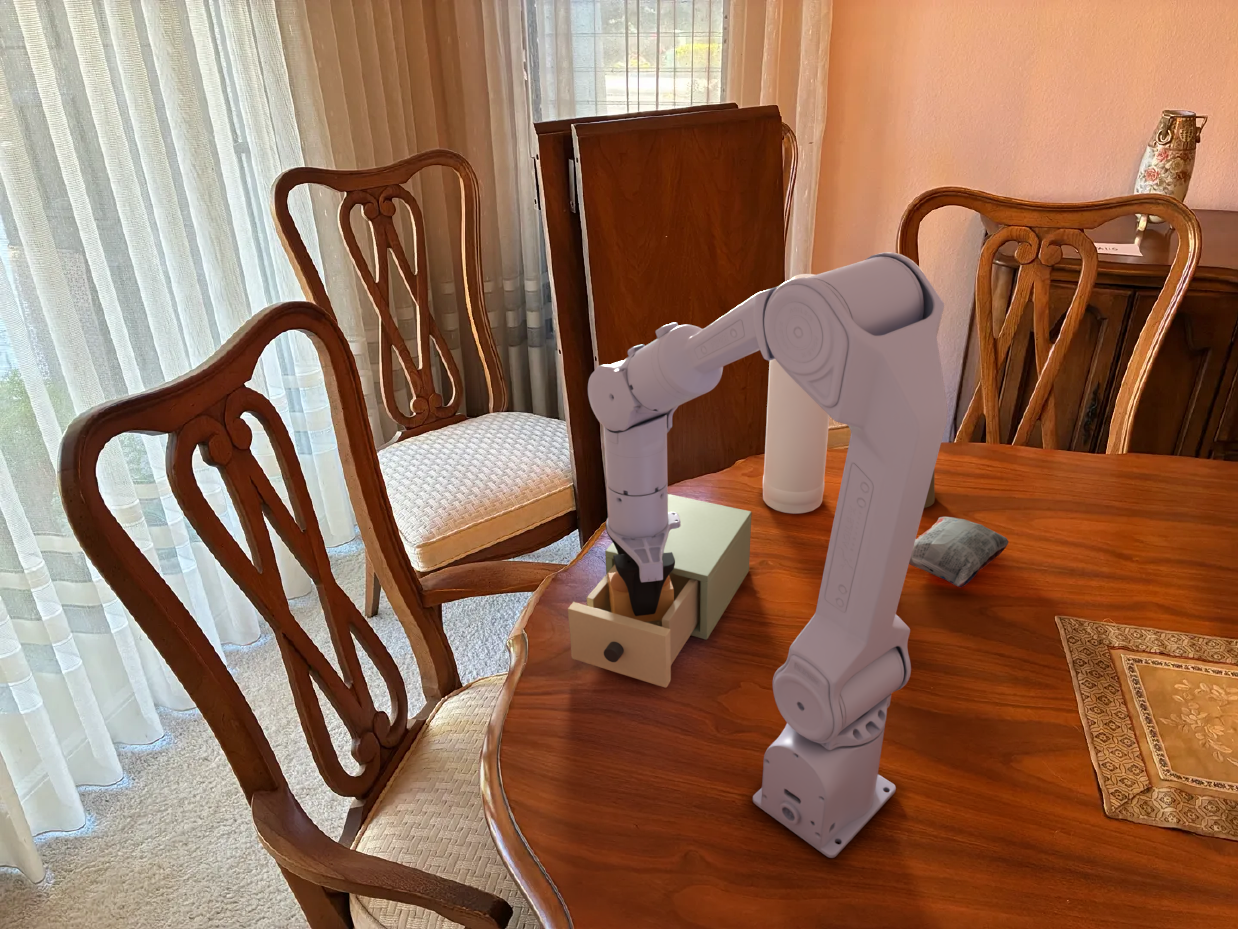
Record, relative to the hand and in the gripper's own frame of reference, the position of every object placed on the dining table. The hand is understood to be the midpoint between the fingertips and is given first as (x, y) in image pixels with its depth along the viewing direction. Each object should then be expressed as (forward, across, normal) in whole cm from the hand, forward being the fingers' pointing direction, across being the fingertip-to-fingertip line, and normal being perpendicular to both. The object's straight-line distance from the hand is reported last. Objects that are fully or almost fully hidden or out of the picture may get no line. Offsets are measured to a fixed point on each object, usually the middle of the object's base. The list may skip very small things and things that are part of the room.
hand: (640, 599), depth 86 cm
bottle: (+6, +25, -25) cm, 36 cm away
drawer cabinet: (+6, +9, -6) cm, 12 cm away
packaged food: (+6, +8, -37) cm, 39 cm away
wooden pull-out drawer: (+5, 0, 0) cm, 5 cm away
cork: (+6, +23, -40) cm, 46 cm away
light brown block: (+1, 0, 0) cm, 1 cm away
